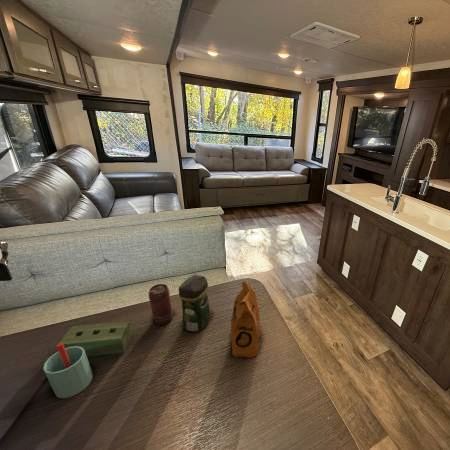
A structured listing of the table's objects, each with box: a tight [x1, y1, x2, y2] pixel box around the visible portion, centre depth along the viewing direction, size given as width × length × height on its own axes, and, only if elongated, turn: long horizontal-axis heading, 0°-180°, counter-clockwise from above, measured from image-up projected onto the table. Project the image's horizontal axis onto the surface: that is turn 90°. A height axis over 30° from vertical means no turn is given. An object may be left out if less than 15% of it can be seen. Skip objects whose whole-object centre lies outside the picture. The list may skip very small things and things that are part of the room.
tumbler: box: [42, 346, 94, 399], centre depth 65 cm, size 8×8×10 cm
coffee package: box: [230, 280, 262, 359], centre depth 80 cm, size 10×12×22 cm
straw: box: [55, 342, 72, 369], centre depth 64 cm, size 1×1×14 cm
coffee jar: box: [178, 274, 212, 332], centre depth 87 cm, size 10×8×19 cm
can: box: [148, 283, 174, 326], centre depth 87 cm, size 6×6×14 cm
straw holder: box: [59, 320, 134, 358], centre depth 77 cm, size 7×16×6 cm, turn 103°
